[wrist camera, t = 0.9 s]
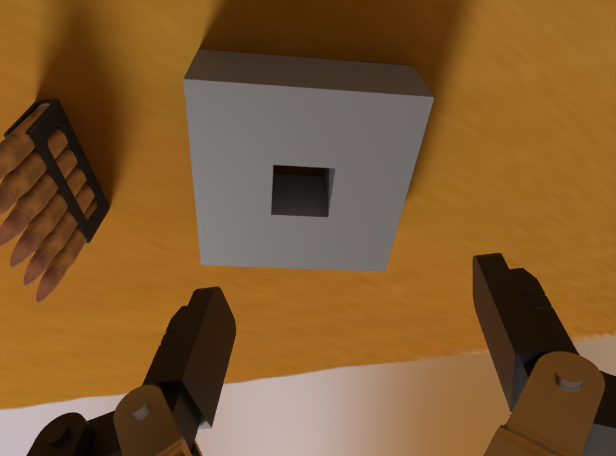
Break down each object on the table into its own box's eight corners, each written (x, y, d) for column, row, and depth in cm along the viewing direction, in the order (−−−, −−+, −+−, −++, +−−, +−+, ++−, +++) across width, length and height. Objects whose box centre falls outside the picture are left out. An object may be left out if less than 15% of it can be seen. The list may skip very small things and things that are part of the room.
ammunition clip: (110, 209, 40) (57, 309, 30) (90, 210, 40) (31, 311, 31) (58, 98, 33) (-31, 184, 24) (34, 100, 33) (-64, 187, 24)
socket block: (210, 221, 41) (201, 264, 36) (198, 48, 31) (183, 78, 26) (374, 228, 42) (384, 271, 38) (413, 65, 32) (434, 97, 28)
